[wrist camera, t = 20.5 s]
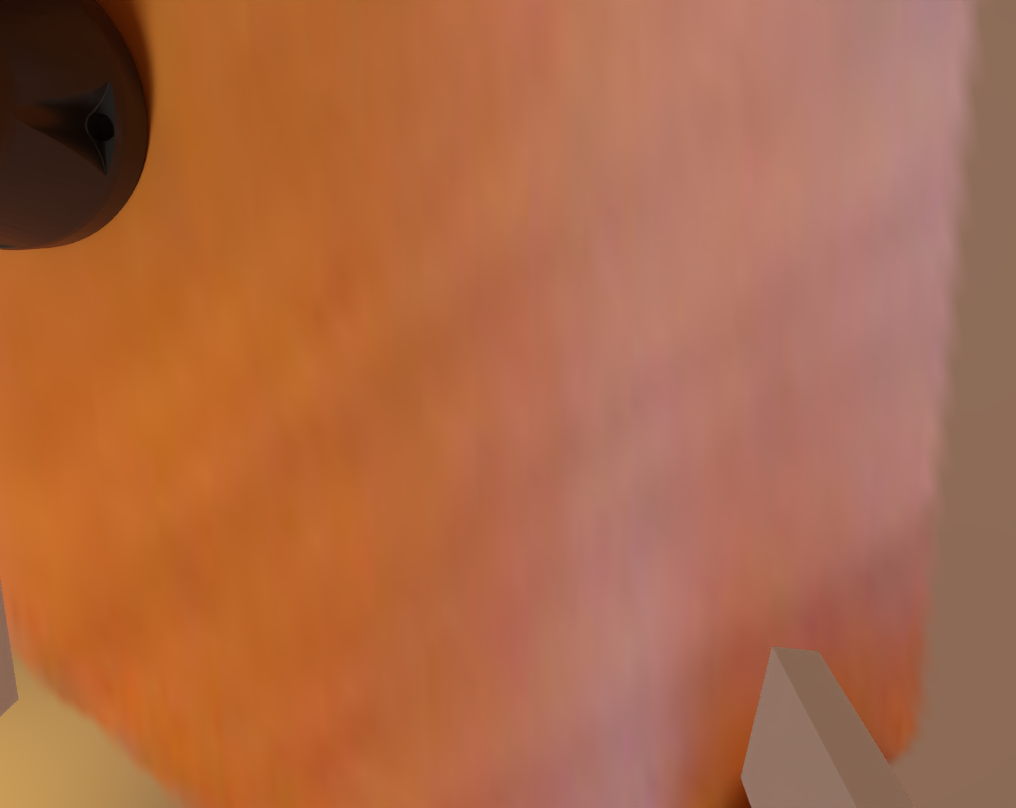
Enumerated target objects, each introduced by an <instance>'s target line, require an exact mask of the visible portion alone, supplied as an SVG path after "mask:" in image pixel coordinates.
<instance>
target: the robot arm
mask: <svg viewBox="0 0 1016 808" xmlns="http://www.w3.org/2000/svg"><path fill="white" fill-rule="evenodd" d="M146 144H147V113H146V105H145V98H144V93H143V89H142V85H141V81H140V78H139V74H138V72H137V69H136V66H135V63H134V61H133V59H132V56H131V54H130V52H129V50H128V48H127V46H126V44H125V42H124V40H123V38H122V36H121V35H120V33H119V31H118V30H117V28H116V27H115V25H114V24H113V22H112V21H111V19H110V18H109V17H108V15H107V14H106V13H105V11H104V10H103V9H102V8H101V7H100V5H99V4H98V3H97V2H96V1H95V0H0V249H2V250H28V249H40V248H51V247H58V246H63V245H67V244H71V243H74V242H77V241H79V240H82V239H84V238H86V237H88V236H90V235H92V234H94V233H95V232H97V231H98V230H100V229H101V228H103V227H104V226H105V225H106V224H107V223H109V222H110V221H111V220H112V219H113V218H114V217H115V216H116V215H117V214H118V213H119V211H120V210H121V209H122V208H123V206H124V205H125V203H126V202H127V200H128V199H129V197H130V195H131V194H132V192H133V190H134V188H135V186H136V183H137V181H138V178H139V176H140V173H141V170H142V166H143V162H144V157H145V152H146ZM17 700H18V694H17V688H16V681H15V674H14V668H13V661H12V654H11V648H10V641H9V635H8V628H7V621H6V615H5V608H4V602H3V595H2V588H1V582H0V716H1V715H2V714H3V713H5V712H6V710H7V709H9V708H10V707H11V706H12V705H13V704H14V703H15V702H16V701H17ZM741 780H742V782H743V785H744V788H745V791H746V794H747V797H748V800H749V802H750V805H751V808H916V807H915V806H914V804H913V802H912V801H911V799H910V798H909V796H908V794H907V793H906V791H905V790H904V788H903V786H902V785H901V783H900V781H899V780H898V778H897V777H896V775H895V773H894V772H893V770H892V769H891V767H890V765H889V764H888V762H887V760H886V759H885V757H884V756H883V754H882V752H881V751H880V749H879V748H878V746H877V744H876V743H875V741H874V740H873V738H872V736H871V735H870V733H869V732H868V730H867V728H866V727H865V725H864V724H863V722H862V720H861V719H860V717H859V716H858V714H857V712H856V711H855V709H854V708H853V706H852V704H851V703H850V701H849V699H848V698H847V696H846V695H845V693H844V691H843V690H842V688H841V687H840V685H839V683H838V682H837V680H836V679H835V677H834V675H833V674H832V672H831V671H830V669H829V667H828V666H827V664H826V663H825V661H824V659H823V658H822V656H821V655H820V653H819V651H812V650H802V649H792V648H783V647H773V646H772V649H771V653H770V658H769V662H768V666H767V670H766V674H765V678H764V683H763V687H762V691H761V695H760V699H759V704H758V708H757V712H756V716H755V720H754V724H753V729H752V733H751V737H750V741H749V745H748V750H747V754H746V758H745V762H744V766H743V770H742V775H741Z"/></svg>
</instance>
